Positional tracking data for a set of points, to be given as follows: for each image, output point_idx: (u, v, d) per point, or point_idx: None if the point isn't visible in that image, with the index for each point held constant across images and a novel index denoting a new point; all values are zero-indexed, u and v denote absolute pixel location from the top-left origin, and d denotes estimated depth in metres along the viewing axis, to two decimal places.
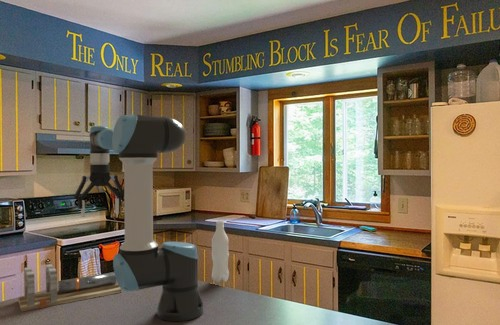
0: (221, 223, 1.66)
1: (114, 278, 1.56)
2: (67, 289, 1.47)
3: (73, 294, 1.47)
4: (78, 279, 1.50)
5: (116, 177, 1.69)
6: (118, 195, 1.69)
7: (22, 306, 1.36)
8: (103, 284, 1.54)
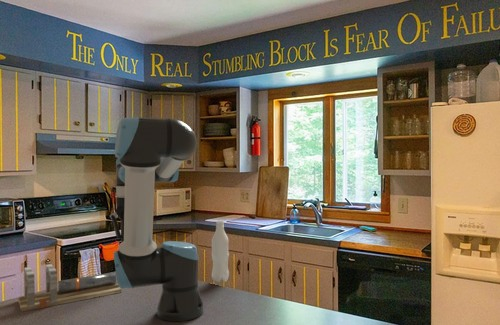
0: (221, 223, 1.66)
1: (114, 278, 1.56)
2: (67, 289, 1.47)
3: (73, 294, 1.47)
4: (78, 279, 1.50)
5: None
6: None
7: (22, 306, 1.36)
8: (103, 284, 1.54)
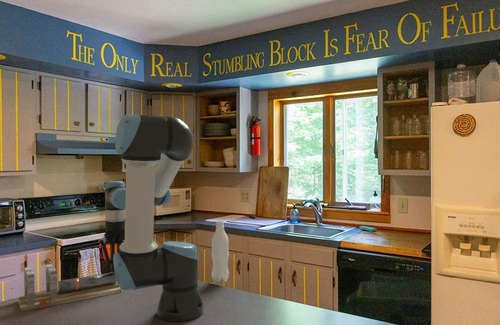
0: (221, 223, 1.66)
1: (114, 278, 1.56)
2: (67, 289, 1.47)
3: (73, 294, 1.47)
4: (78, 279, 1.50)
5: None
6: None
7: (22, 306, 1.36)
8: (103, 284, 1.54)
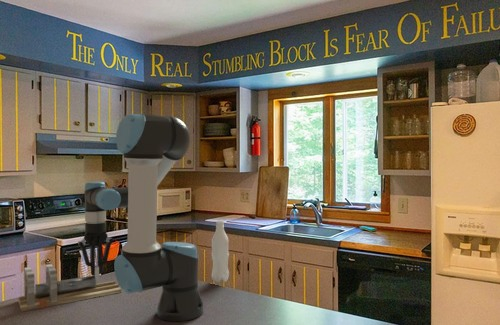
0: (221, 223, 1.66)
1: (94, 281, 1.52)
2: (44, 292, 1.42)
3: (73, 294, 1.47)
4: None
5: (111, 241, 1.57)
6: (100, 262, 1.54)
7: (22, 306, 1.36)
8: (82, 288, 1.50)
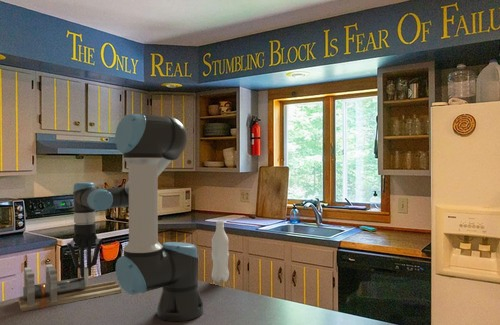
0: (221, 223, 1.66)
1: (83, 283, 1.50)
2: None
3: (73, 294, 1.47)
4: (44, 284, 1.44)
5: (101, 242, 1.54)
6: (89, 263, 1.52)
7: (22, 306, 1.36)
8: (71, 290, 1.47)
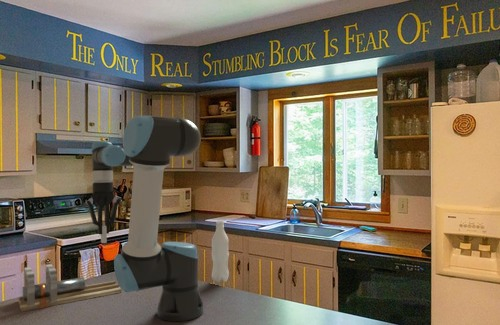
0: (221, 223, 1.66)
1: (83, 283, 1.50)
2: None
3: (73, 294, 1.47)
4: (44, 285, 1.44)
5: (118, 201, 1.58)
6: (107, 221, 1.55)
7: (22, 306, 1.36)
8: (71, 290, 1.47)
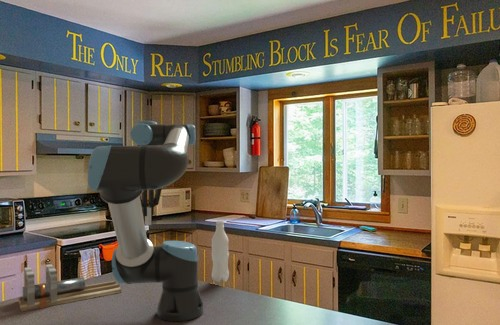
0: (221, 223, 1.66)
1: (83, 283, 1.50)
2: None
3: (73, 294, 1.47)
4: (44, 285, 1.44)
5: None
6: (152, 203, 1.51)
7: (22, 306, 1.36)
8: (71, 290, 1.47)
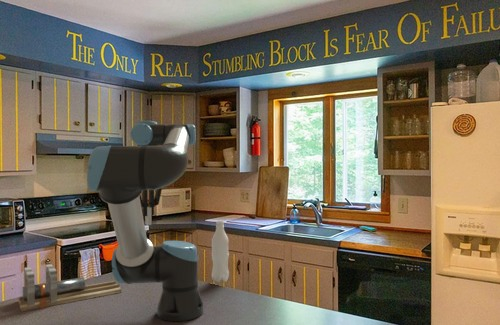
0: (221, 223, 1.66)
1: (83, 283, 1.50)
2: None
3: (73, 294, 1.47)
4: (44, 285, 1.44)
5: None
6: (152, 203, 1.51)
7: (22, 306, 1.36)
8: (71, 290, 1.47)
